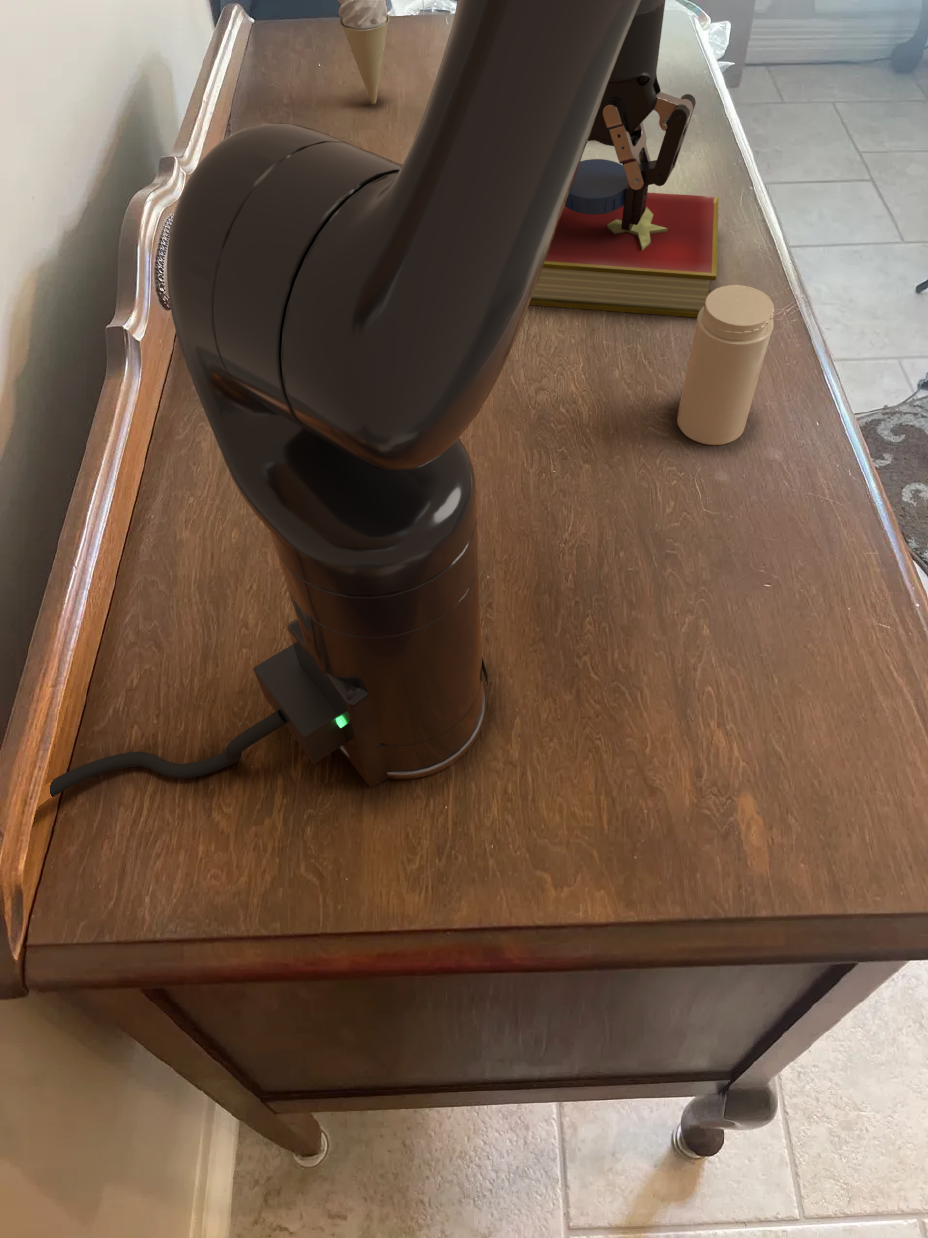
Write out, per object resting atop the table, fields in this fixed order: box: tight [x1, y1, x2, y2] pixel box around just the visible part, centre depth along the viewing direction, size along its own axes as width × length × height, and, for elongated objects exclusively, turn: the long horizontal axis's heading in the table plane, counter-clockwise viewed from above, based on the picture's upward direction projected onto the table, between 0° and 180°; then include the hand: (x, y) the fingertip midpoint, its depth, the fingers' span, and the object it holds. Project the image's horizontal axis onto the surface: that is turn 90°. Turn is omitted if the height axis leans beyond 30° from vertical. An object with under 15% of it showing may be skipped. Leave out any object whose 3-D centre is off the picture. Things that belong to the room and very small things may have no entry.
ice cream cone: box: [337, 0, 390, 105], centre depth 93 cm, size 5×5×15 cm
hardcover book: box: [529, 192, 720, 319], centre depth 79 cm, size 12×21×4 cm, turn 80°
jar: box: [676, 284, 776, 446], centre depth 65 cm, size 5×5×10 cm
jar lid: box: [565, 158, 628, 214], centre depth 74 cm, size 6×6×1 cm
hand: (592, 217), depth 77 cm, fingers closed on jar lid, 5 cm apart
